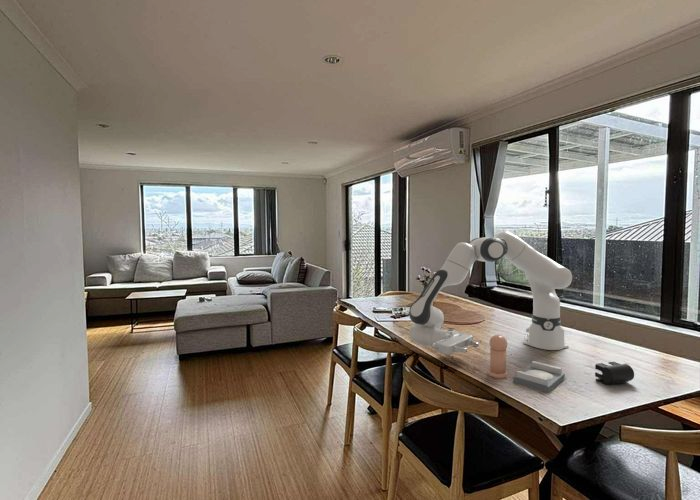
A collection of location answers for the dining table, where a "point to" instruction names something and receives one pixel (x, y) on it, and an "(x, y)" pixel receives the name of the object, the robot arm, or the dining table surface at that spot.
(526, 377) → the display plinth
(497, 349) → the ball-topped peg
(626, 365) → the end cap
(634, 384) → the dining table surface
